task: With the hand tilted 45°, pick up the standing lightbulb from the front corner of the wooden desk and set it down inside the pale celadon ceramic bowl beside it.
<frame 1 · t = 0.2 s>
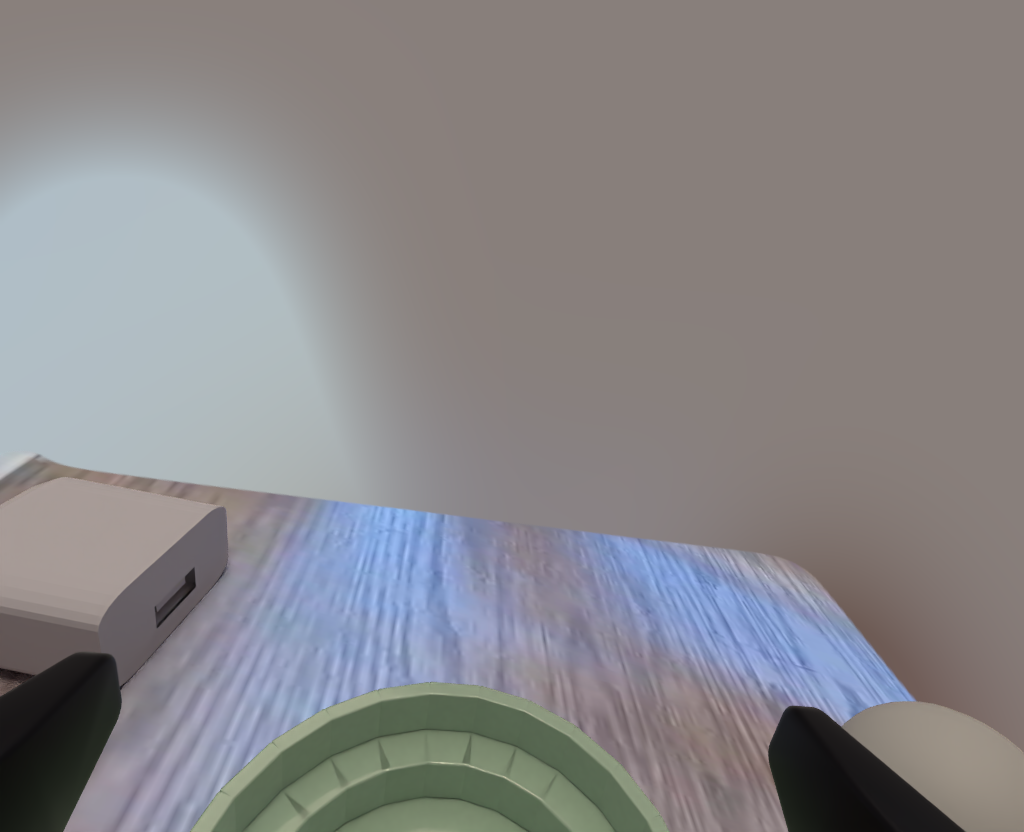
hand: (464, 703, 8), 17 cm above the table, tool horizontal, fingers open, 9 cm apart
charger: (36, 600, 29), on the table
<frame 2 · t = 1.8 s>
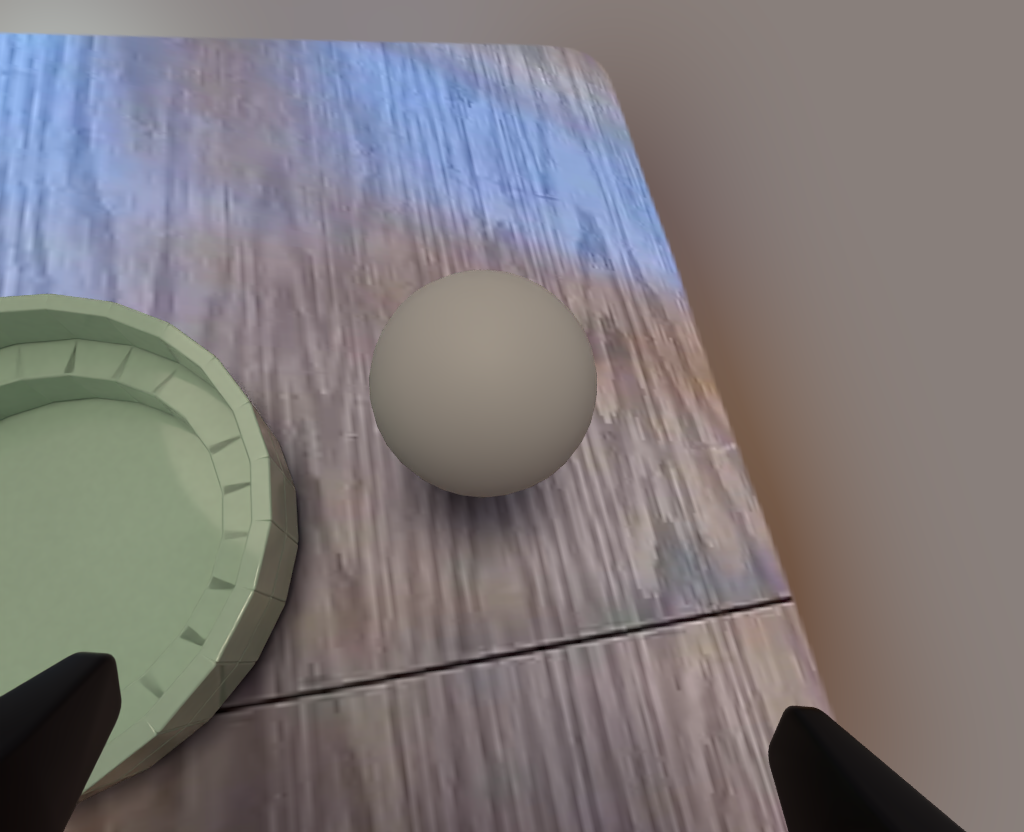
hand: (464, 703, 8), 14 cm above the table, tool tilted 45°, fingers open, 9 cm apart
bowl: (72, 554, 20), on the table
lightbulb: (466, 472, 23), on the table
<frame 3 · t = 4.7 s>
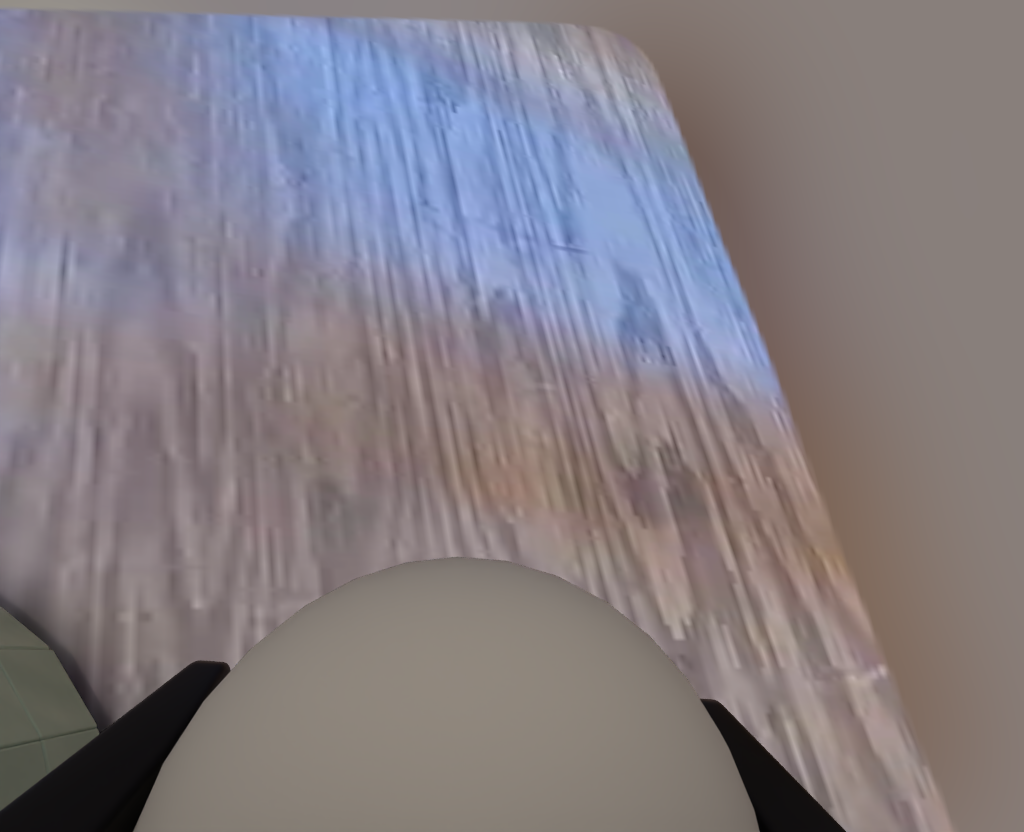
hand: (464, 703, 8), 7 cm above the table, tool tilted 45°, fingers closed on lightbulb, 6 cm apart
lightbulb: (441, 747, 13), on the table, touching gripper
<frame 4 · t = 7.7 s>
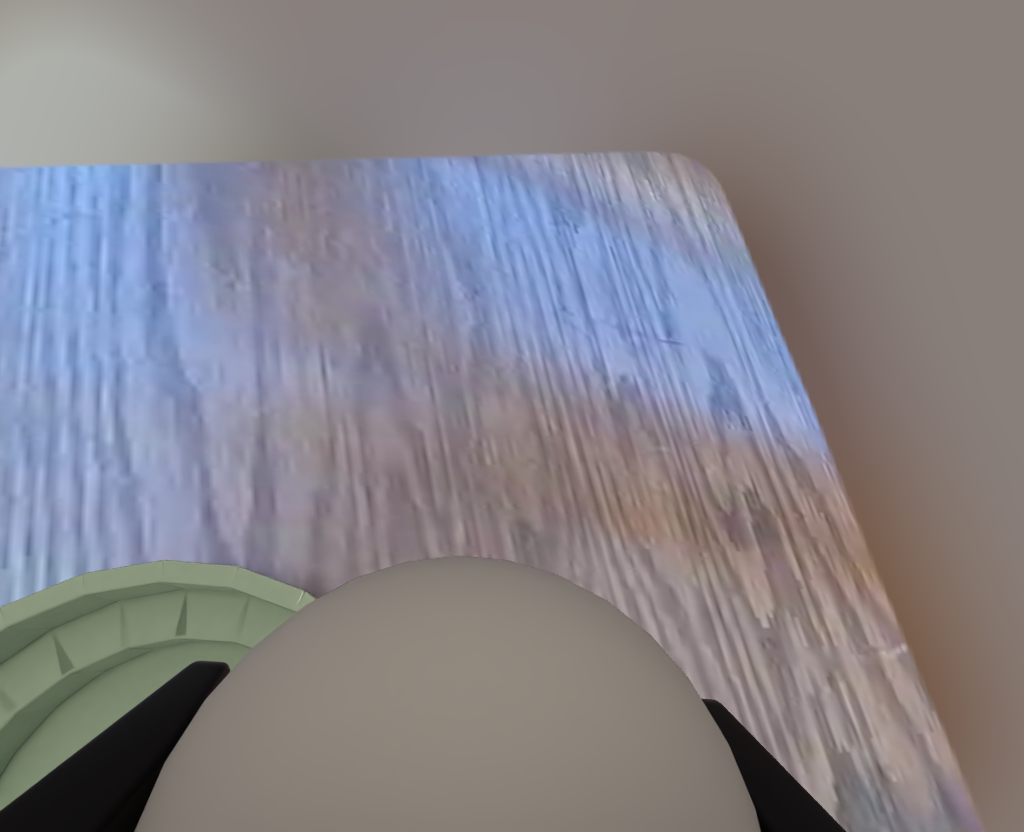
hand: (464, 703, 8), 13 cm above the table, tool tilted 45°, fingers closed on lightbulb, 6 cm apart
lightbulb: (442, 746, 14), point 6 cm above the table, touching gripper
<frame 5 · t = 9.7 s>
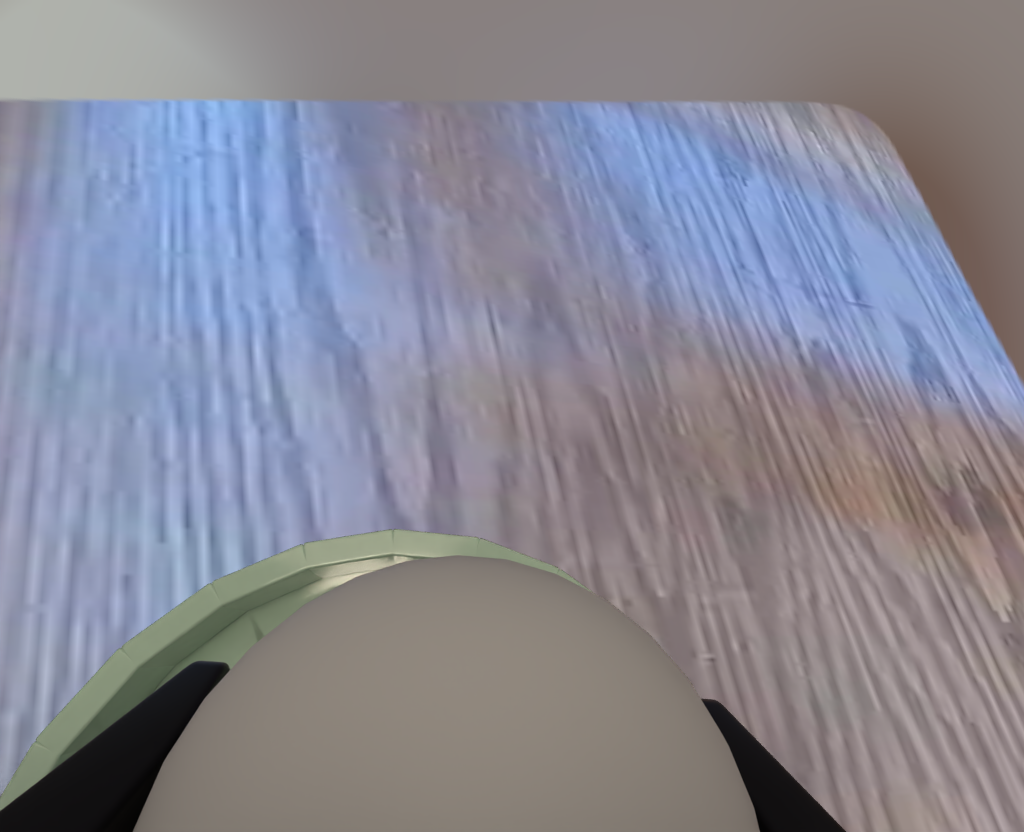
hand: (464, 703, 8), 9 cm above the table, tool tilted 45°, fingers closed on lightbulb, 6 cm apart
lightbulb: (441, 746, 13), point 3 cm above the table, touching gripper
when the fingers open (7 cm above the table, at t = 11.0 s): lightbulb stays where it is, resting on bowl.
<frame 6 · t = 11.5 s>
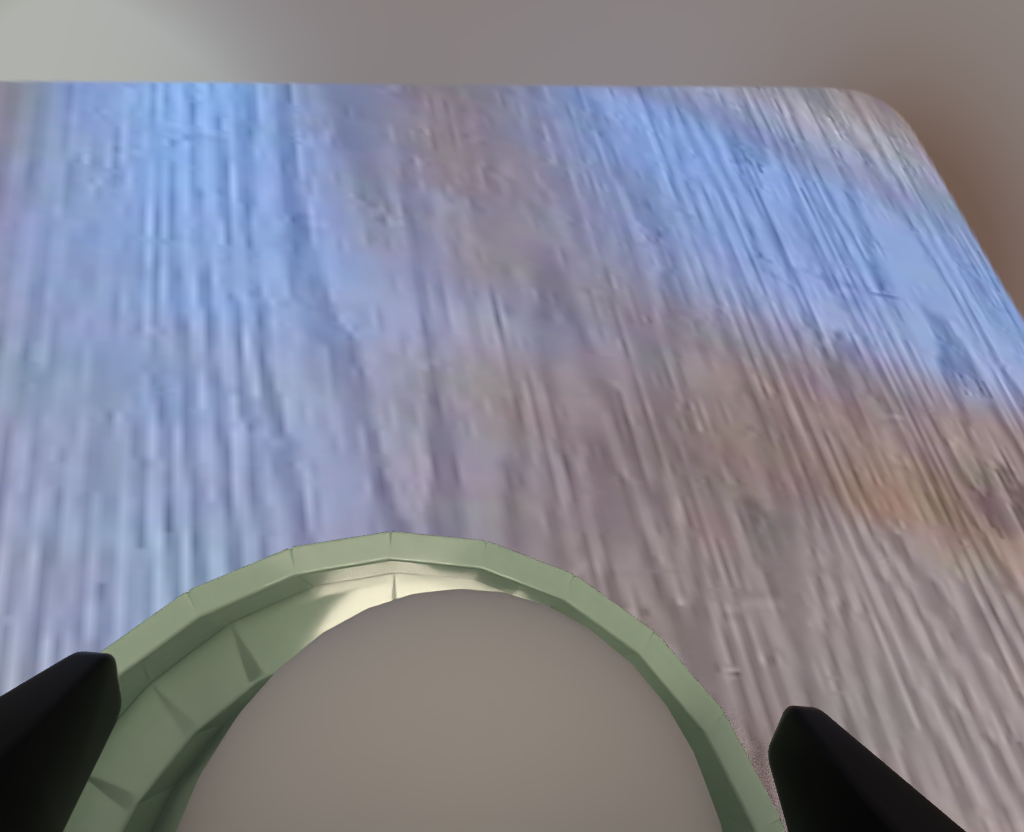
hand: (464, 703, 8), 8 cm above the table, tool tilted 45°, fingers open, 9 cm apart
lightbulb: (441, 754, 14), resting on bowl
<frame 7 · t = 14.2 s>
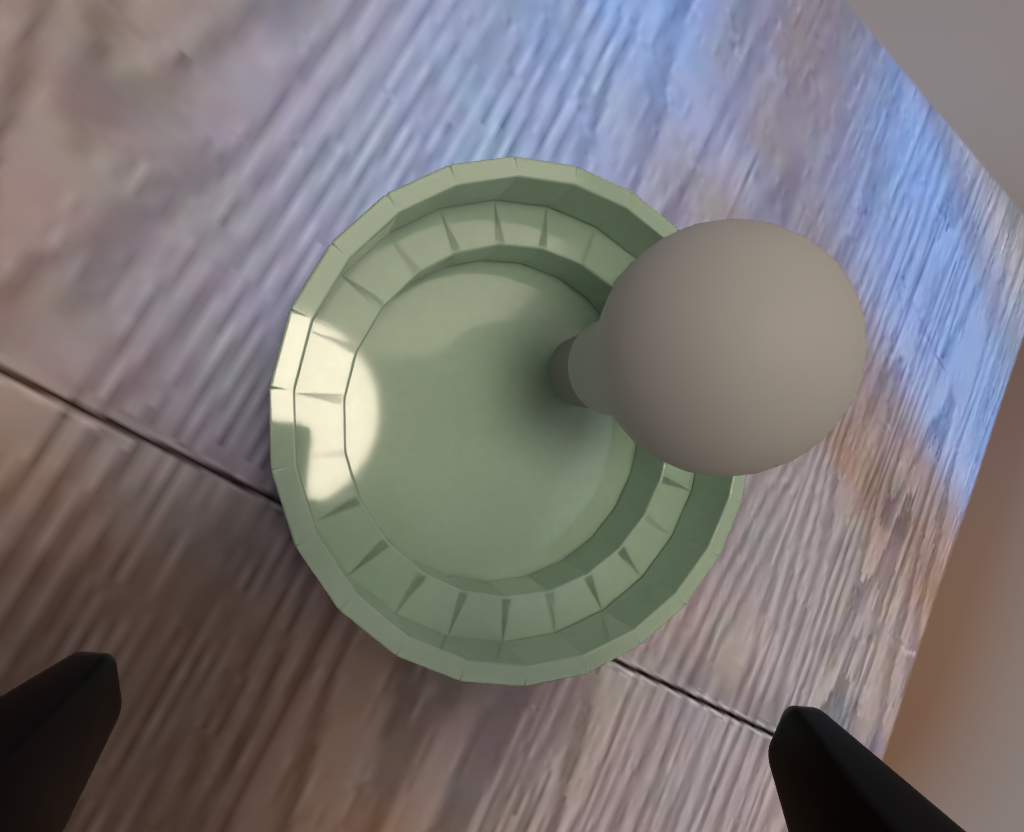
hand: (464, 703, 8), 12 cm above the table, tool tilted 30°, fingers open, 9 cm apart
bowl: (497, 420, 21), on the table
lightbulb: (567, 373, 22), resting on bowl
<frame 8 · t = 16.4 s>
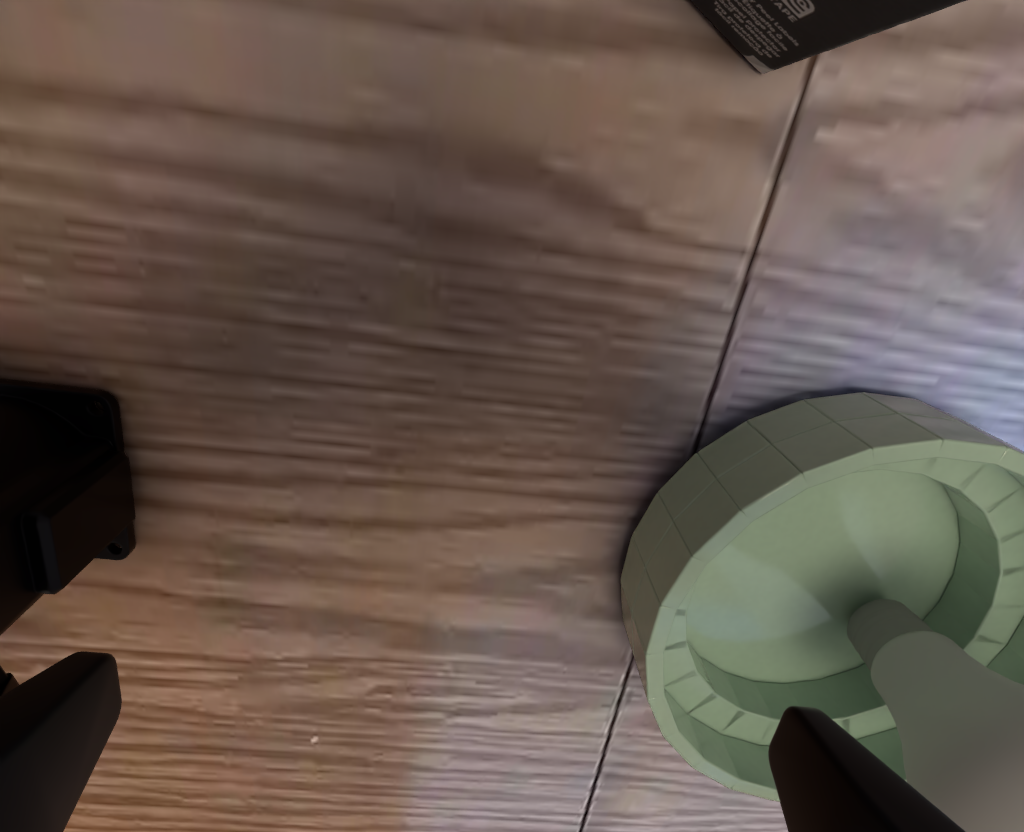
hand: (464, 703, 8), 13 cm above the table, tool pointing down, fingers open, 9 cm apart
bowl: (805, 565, 23), on the table
lightbulb: (863, 607, 24), resting on bowl
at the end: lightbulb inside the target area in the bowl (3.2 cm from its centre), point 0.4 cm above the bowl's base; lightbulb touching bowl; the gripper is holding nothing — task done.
